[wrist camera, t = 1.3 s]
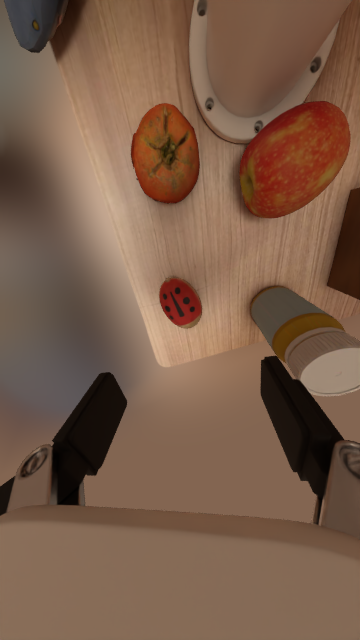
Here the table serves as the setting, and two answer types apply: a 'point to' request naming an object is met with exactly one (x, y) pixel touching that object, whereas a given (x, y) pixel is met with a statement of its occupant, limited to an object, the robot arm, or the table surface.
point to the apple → (294, 159)
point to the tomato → (165, 154)
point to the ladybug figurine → (180, 302)
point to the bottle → (308, 342)
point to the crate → (348, 251)
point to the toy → (35, 21)
